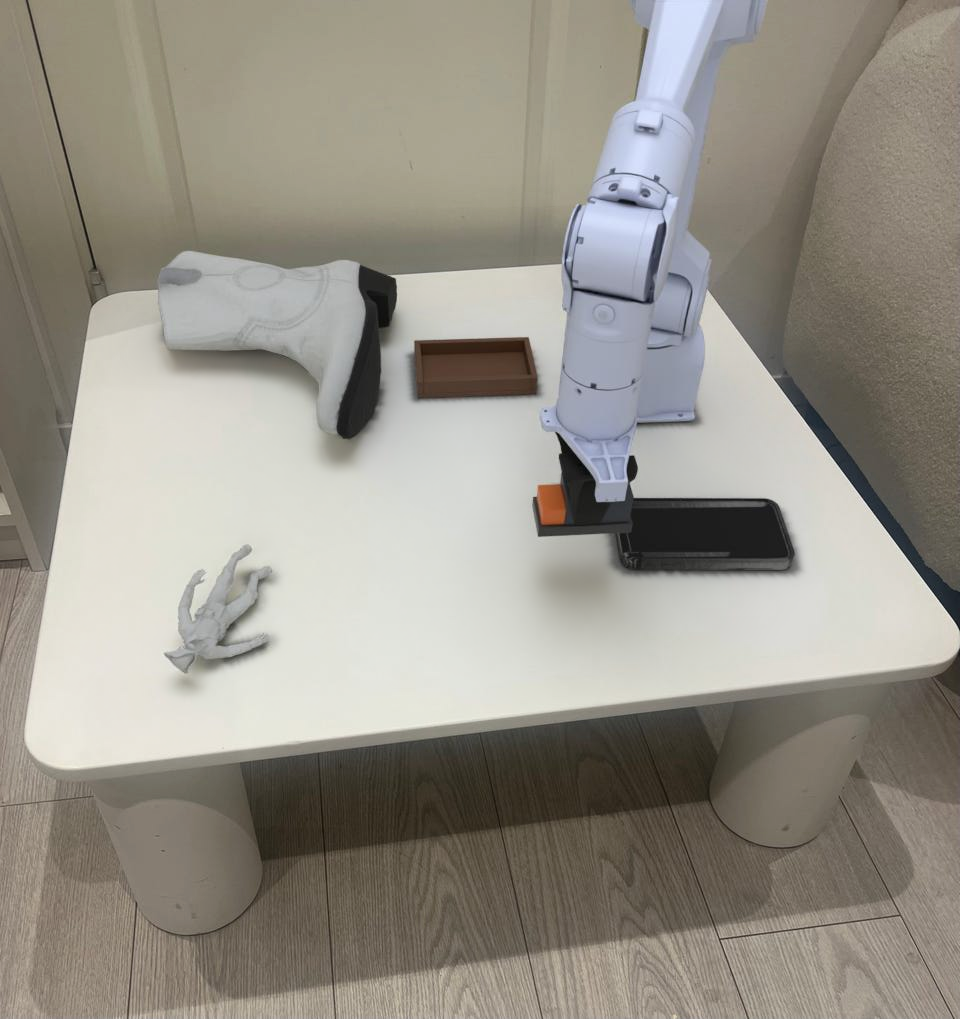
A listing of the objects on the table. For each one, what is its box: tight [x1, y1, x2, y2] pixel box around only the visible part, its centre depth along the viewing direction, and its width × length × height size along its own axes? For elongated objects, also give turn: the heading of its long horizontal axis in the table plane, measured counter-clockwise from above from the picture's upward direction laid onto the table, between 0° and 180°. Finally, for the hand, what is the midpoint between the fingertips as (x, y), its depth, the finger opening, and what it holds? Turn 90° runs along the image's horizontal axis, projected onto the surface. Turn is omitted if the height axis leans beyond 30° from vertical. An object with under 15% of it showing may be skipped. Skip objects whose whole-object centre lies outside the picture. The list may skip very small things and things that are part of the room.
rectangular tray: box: [413, 336, 539, 399], centre depth 105 cm, size 12×7×2 cm, turn 95°
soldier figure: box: [163, 543, 273, 675], centre depth 80 cm, size 8×5×12 cm
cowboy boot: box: [156, 250, 398, 441], centre depth 103 cm, size 10×28×25 cm
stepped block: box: [531, 471, 635, 538], centre depth 80 cm, size 8×4×4 cm, turn 95°
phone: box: [615, 497, 796, 571], centre depth 90 cm, size 8×1×15 cm
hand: (583, 504), depth 80 cm, fingers closed on stepped block, 3 cm apart
